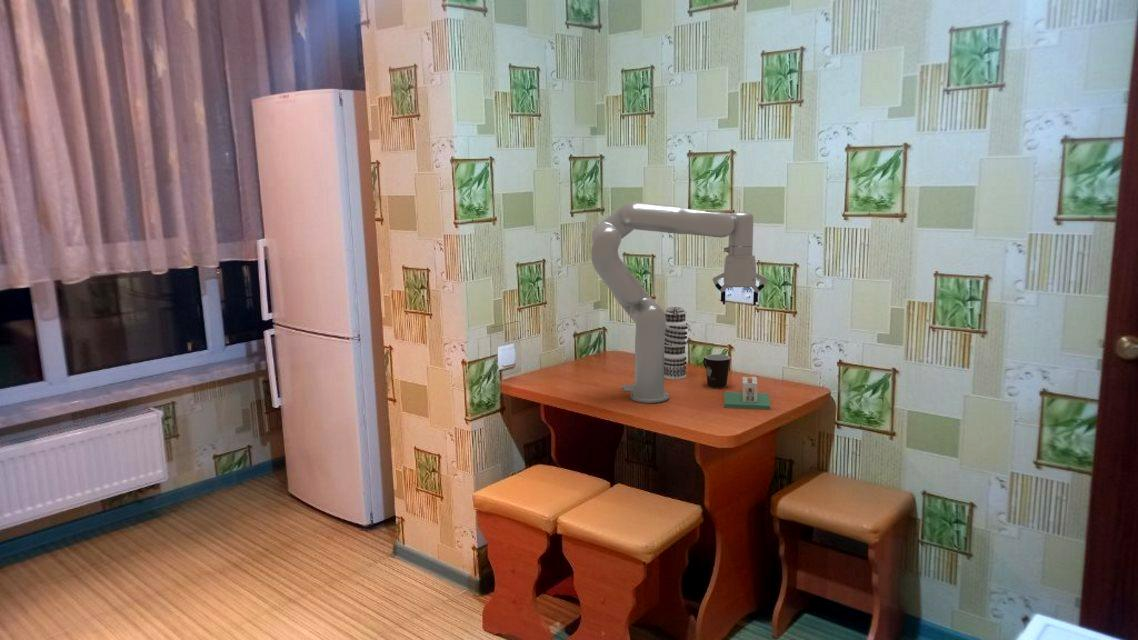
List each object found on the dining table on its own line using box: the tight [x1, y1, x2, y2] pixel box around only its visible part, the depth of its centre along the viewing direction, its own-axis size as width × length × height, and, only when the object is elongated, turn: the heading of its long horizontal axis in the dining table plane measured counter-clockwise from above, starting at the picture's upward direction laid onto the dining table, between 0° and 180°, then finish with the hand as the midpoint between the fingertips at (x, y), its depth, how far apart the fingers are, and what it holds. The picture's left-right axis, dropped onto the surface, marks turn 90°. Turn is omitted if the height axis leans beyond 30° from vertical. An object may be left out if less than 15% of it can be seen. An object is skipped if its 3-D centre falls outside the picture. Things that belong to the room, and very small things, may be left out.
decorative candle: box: [663, 306, 689, 380], centre depth 281 cm, size 9×9×25 cm
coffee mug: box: [702, 353, 731, 389], centre depth 271 cm, size 12×9×10 cm
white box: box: [742, 376, 758, 402], centre depth 250 cm, size 4×8×6 cm, turn 168°
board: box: [723, 388, 771, 411], centre depth 250 cm, size 14×14×4 cm
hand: (739, 304), depth 253 cm, fingers open, 9 cm apart
